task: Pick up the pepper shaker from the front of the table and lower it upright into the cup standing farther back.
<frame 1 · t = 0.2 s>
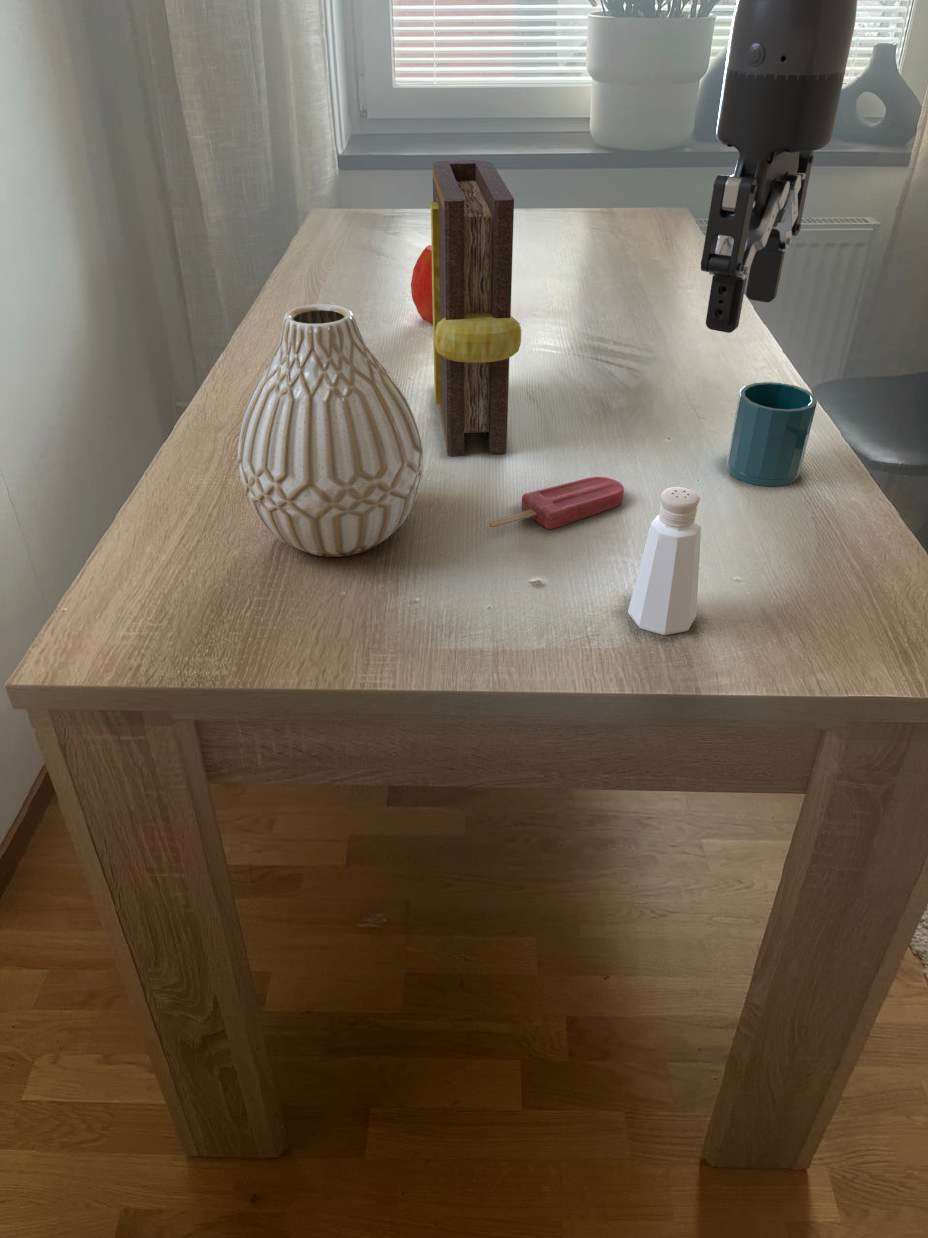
hand: (741, 313, 69), 21 cm above the table, tool pointing down, fingers open, 8 cm apart
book: (469, 424, 104), on the table
pepper shaker: (661, 617, 74), on the table
cup: (762, 470, 95), on the table
popsicle: (555, 515, 87), on the table
vase: (338, 534, 84), on the table
apple: (440, 320, 133), on the table
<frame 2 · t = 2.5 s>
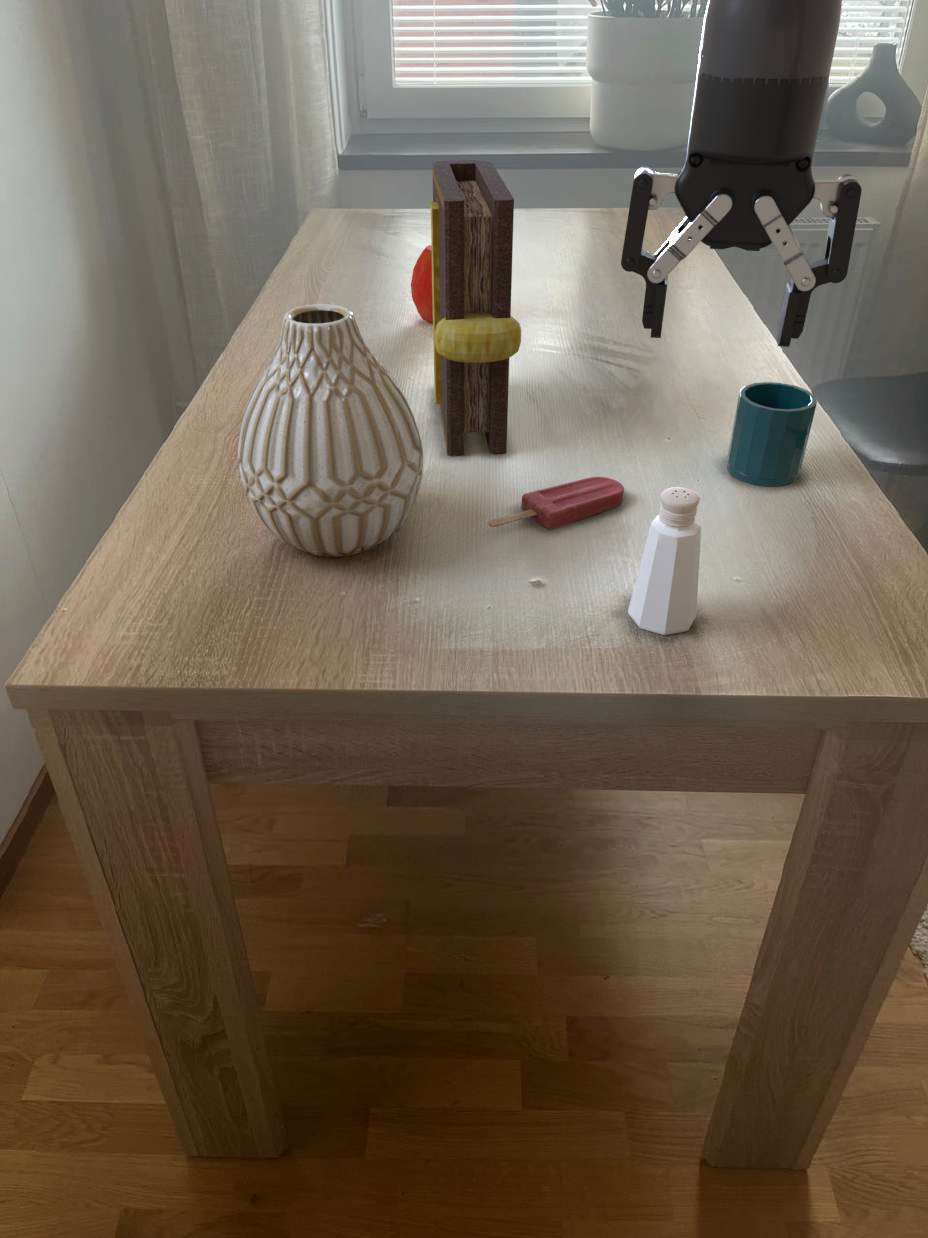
hand: (718, 338, 63), 22 cm above the table, tool pointing down, fingers open, 8 cm apart
nothing on the table moved.
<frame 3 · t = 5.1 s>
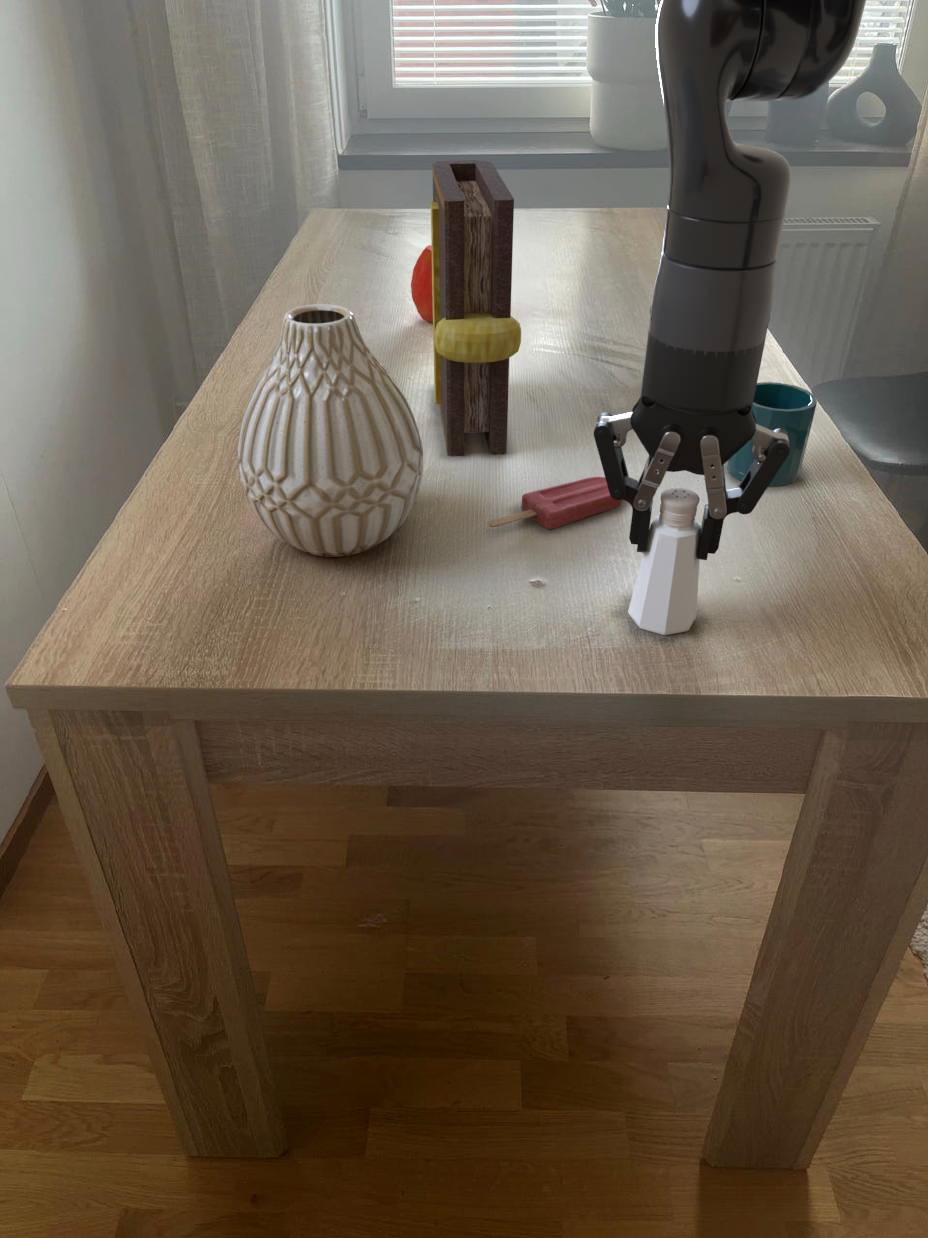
hand: (672, 549, 70), 6 cm above the table, tool pointing down, fingers closed on pepper shaker, 4 cm apart
pepper shaker: (661, 618, 74), on the table, touching gripper
everything else where it was.
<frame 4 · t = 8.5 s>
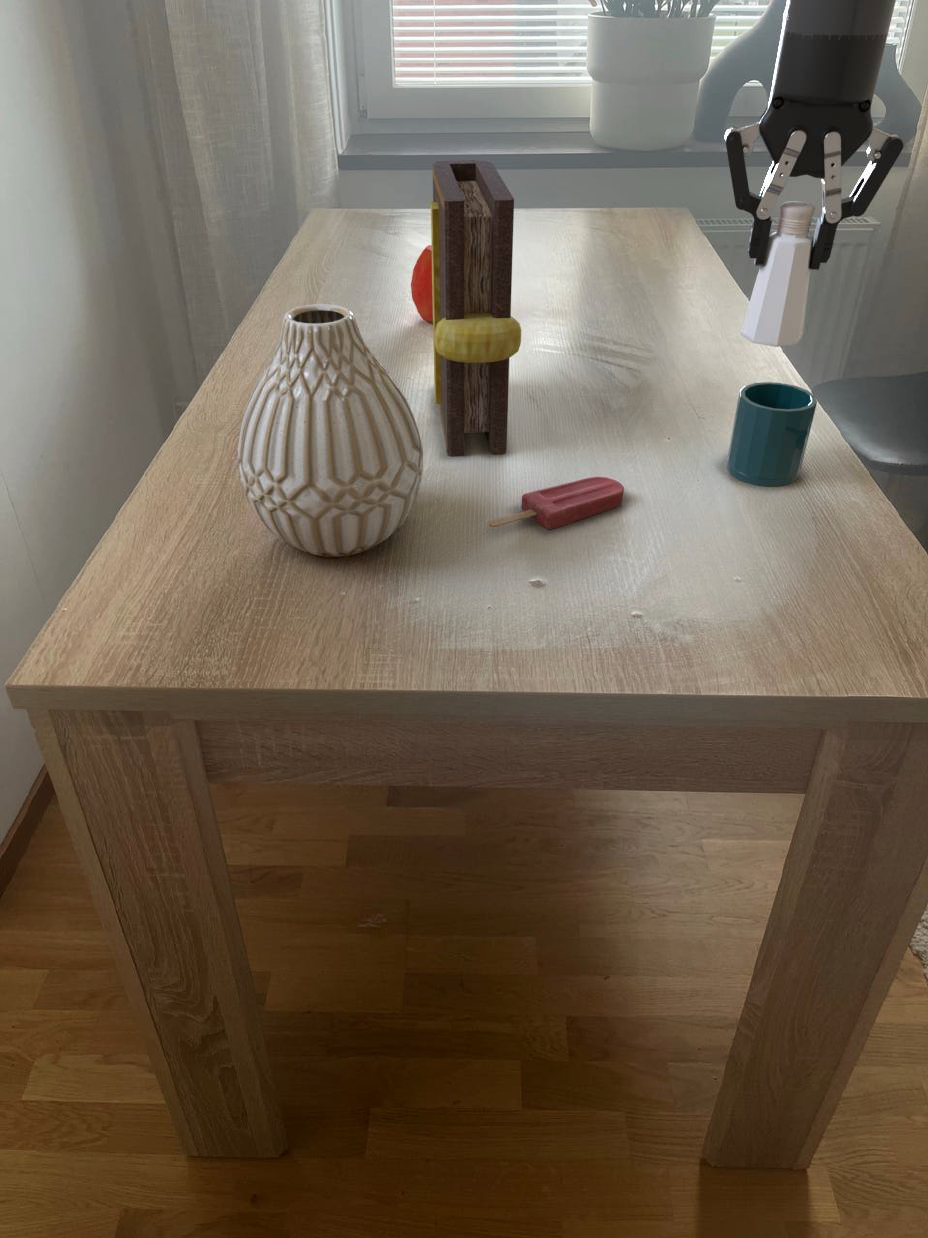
hand: (786, 264, 78), 22 cm above the table, tool pointing down, fingers closed on pepper shaker, 4 cm apart
pepper shaker: (770, 338, 82), point 15 cm above the table, touching gripper
everything else where it was.
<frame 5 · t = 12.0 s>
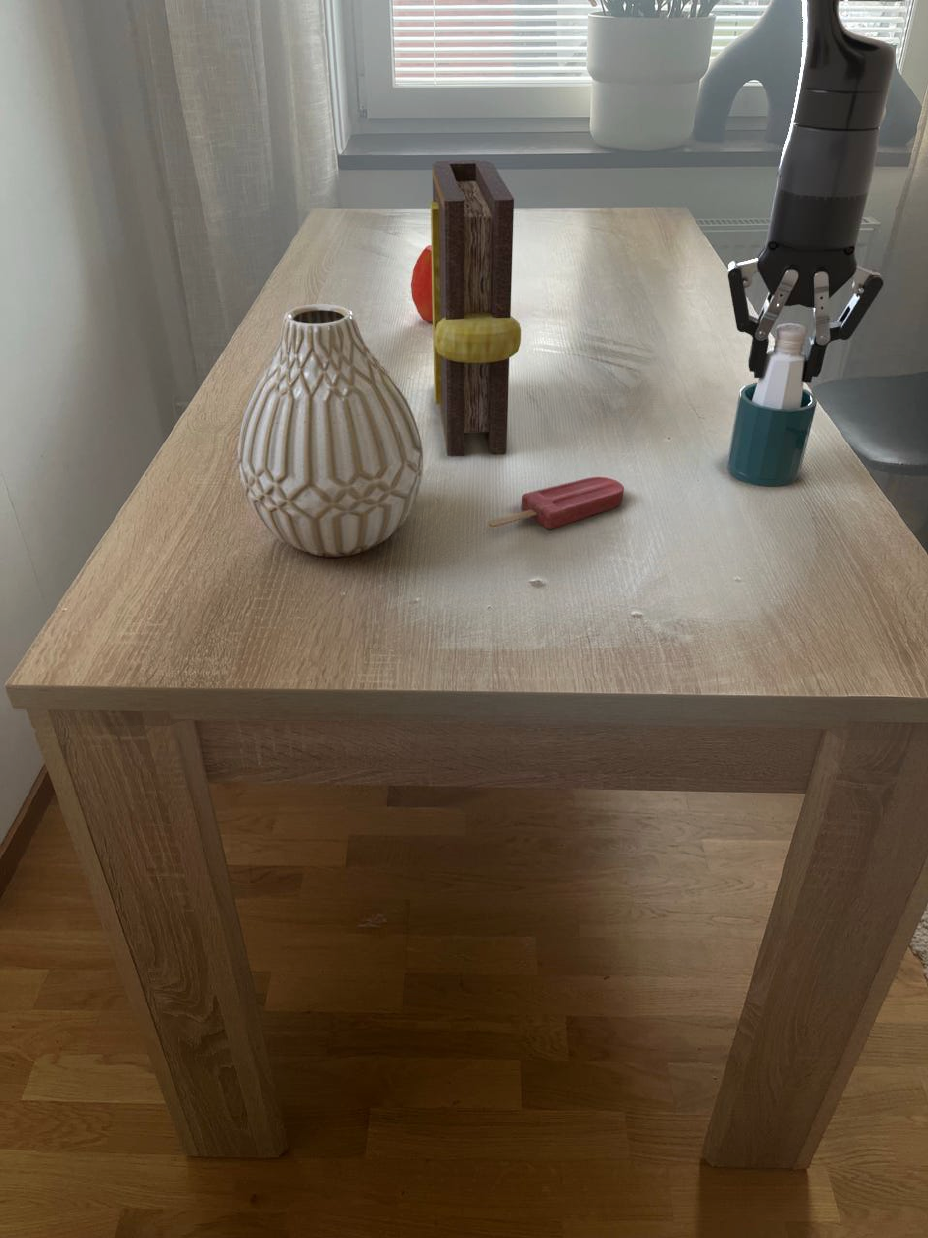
hand: (782, 376, 89), 10 cm above the table, tool pointing down, fingers closed on pepper shaker, 4 cm apart
pepper shaker: (768, 438, 92), point 4 cm above the table, touching gripper
everything else where it was.
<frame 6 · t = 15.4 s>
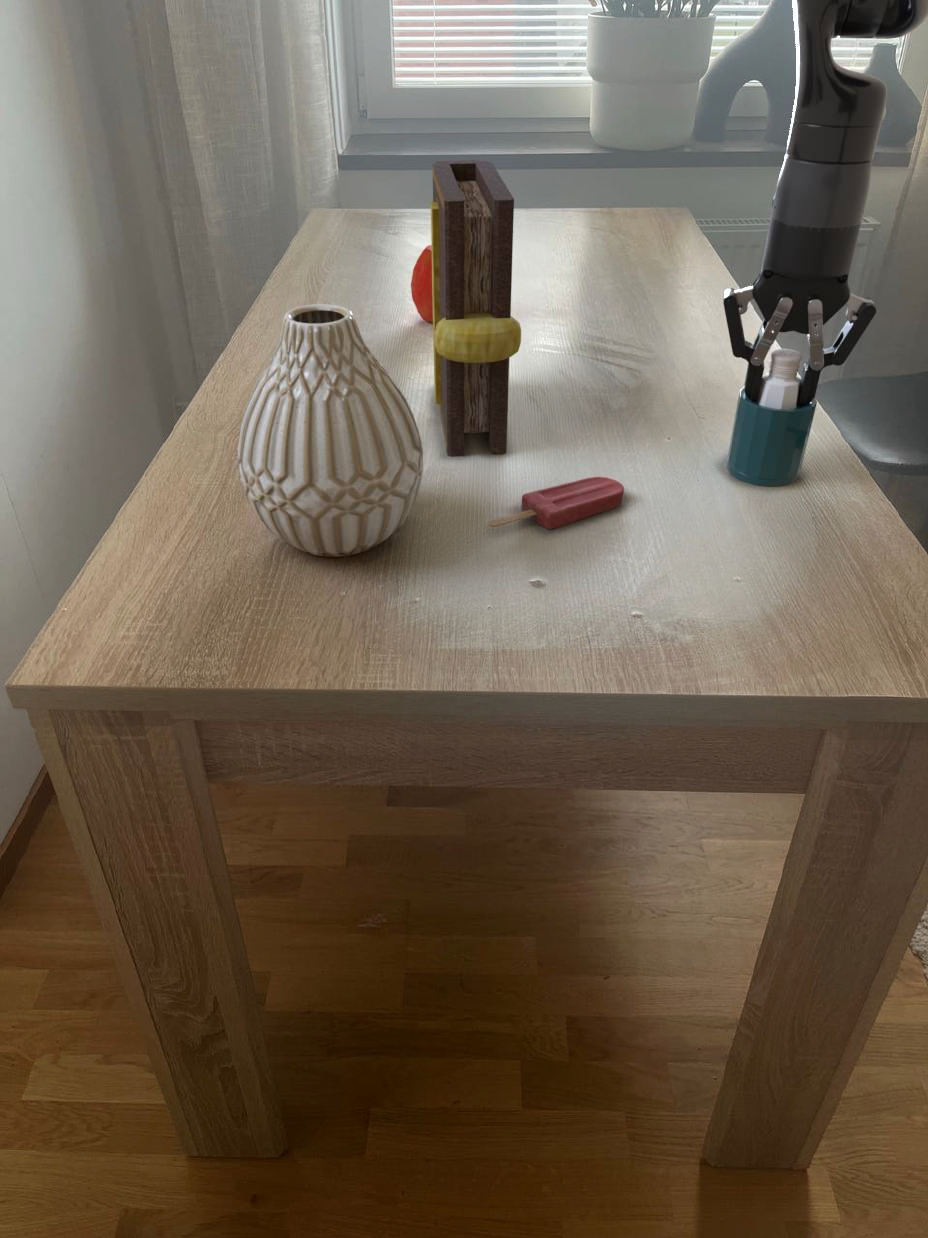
hand: (777, 400, 90), 8 cm above the table, tool pointing down, fingers closed on pepper shaker, 4 cm apart
pepper shaker: (764, 460, 94), point 1 cm above the table, touching gripper
everything else where it was.
when the fingers open (9 cm above the table, at t = 19.5 s): pepper shaker drops 2 cm, resting on cup.
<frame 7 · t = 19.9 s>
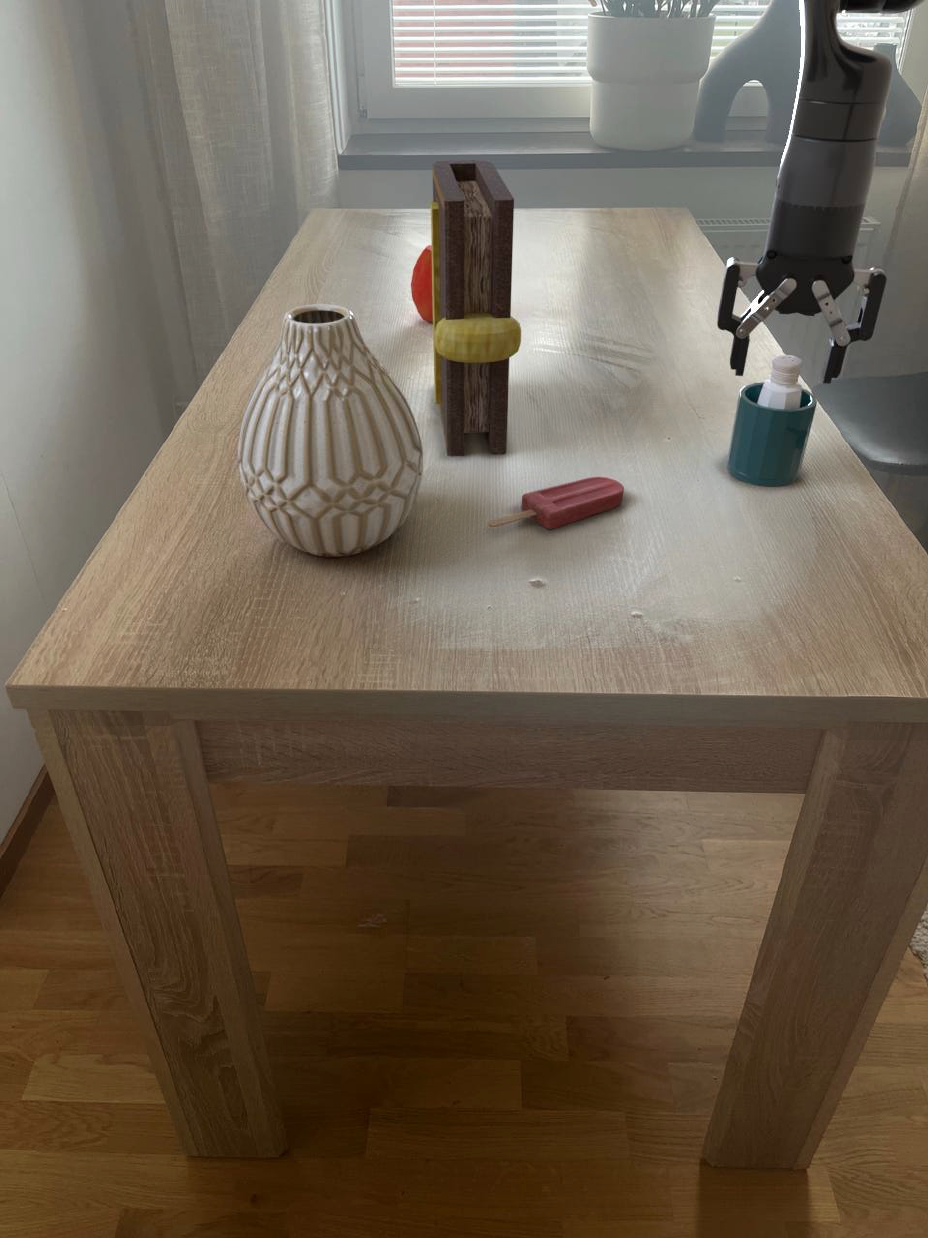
hand: (782, 376, 89), 10 cm above the table, tool pointing down, fingers open, 7 cm apart
pepper shaker: (765, 465, 94), point 1 cm above the table, touching cup
everything else where it was.
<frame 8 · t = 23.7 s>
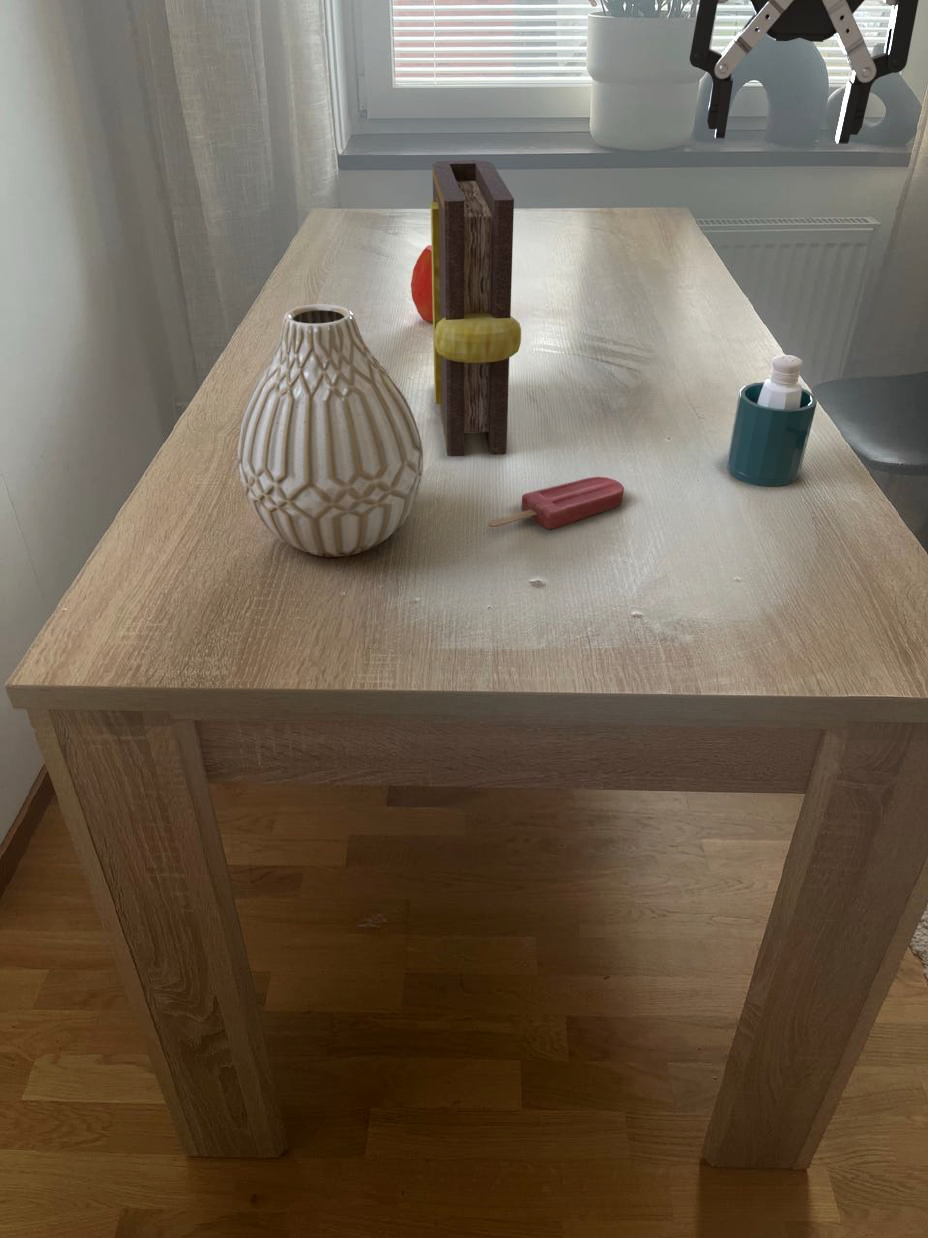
hand: (780, 139, 67), 32 cm above the table, tool pointing down, fingers open, 8 cm apart
nothing on the table moved.
at the end: pepper shaker 0.2 cm off-centre in the cup, point 0.6 cm above the cup's base; pepper shaker tilted 0°; the gripper is holding nothing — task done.
